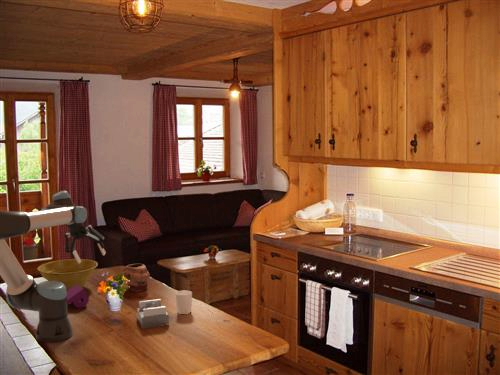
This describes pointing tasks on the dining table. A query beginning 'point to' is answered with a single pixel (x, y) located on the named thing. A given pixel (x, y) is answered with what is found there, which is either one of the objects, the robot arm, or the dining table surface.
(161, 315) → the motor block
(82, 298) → the purple elongated rounded piece
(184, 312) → the white cup
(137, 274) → the decorative planter
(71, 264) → the planter bowl
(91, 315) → the dining table surface
